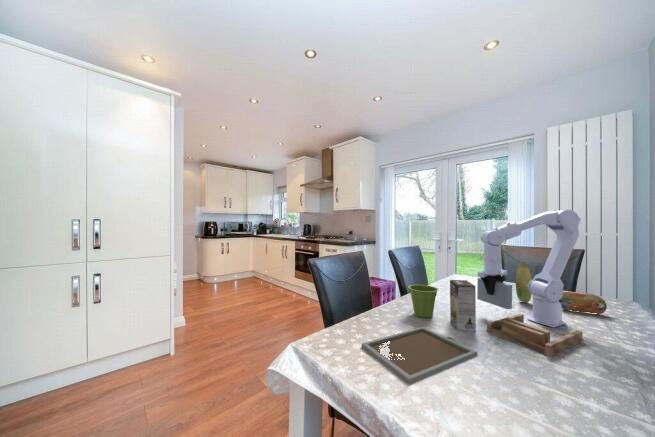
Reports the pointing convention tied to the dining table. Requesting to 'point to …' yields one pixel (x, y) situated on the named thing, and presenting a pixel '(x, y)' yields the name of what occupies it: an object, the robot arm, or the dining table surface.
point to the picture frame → (419, 353)
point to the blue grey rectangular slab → (496, 294)
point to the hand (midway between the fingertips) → (492, 294)
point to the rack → (549, 347)
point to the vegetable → (523, 282)
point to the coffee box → (463, 304)
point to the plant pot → (423, 299)
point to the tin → (583, 302)
